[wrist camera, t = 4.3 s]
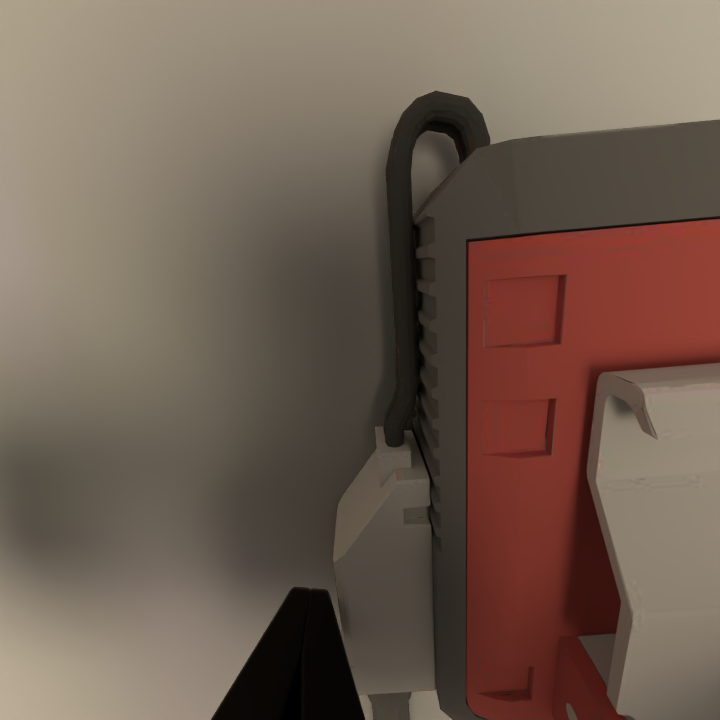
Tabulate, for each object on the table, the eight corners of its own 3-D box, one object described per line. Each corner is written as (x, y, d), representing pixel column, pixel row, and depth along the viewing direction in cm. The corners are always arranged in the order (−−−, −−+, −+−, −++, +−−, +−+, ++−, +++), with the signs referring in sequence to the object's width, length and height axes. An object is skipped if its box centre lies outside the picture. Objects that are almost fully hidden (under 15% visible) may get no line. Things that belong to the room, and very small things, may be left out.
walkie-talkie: (288, 143, 7) (366, 768, 12) (167, -76, 2) (371, 1040, 8) (731, 102, 7) (609, 751, 12) (1425, -202, 2) (749, 1019, 8)
